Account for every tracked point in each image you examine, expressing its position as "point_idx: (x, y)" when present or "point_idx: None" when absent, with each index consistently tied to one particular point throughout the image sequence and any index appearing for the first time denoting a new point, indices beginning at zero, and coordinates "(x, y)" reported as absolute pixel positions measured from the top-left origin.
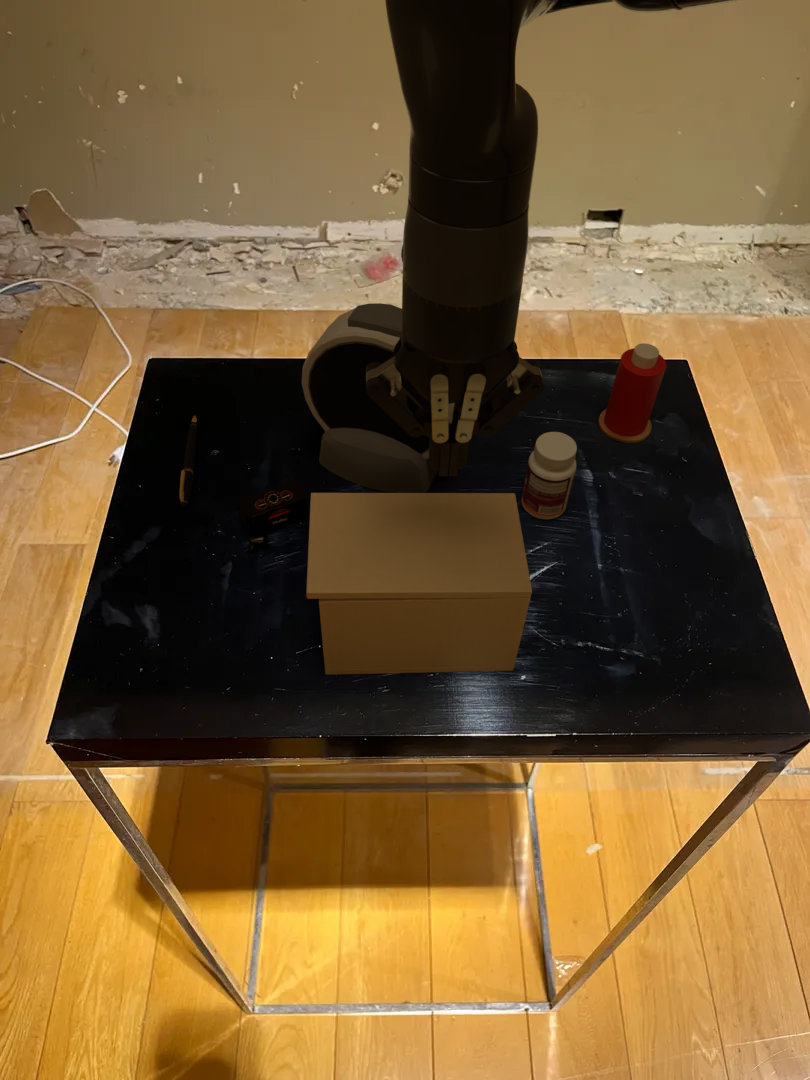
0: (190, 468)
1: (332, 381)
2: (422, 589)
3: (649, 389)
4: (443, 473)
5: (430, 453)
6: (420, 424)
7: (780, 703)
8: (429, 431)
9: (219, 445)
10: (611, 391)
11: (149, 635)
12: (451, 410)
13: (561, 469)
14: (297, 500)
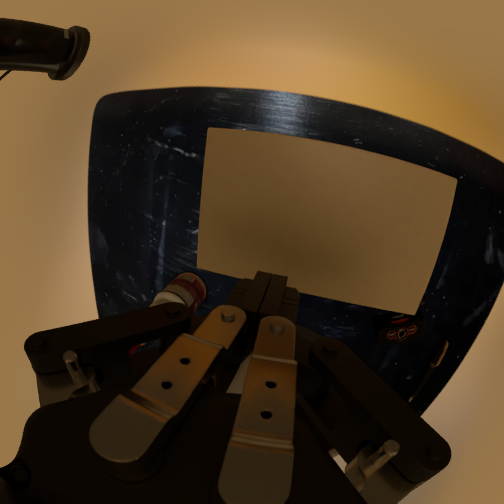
0: (432, 366)
1: None
2: (335, 148)
3: None
4: (280, 277)
5: (297, 310)
6: (320, 360)
7: (100, 109)
8: (297, 344)
9: (404, 381)
10: (131, 353)
11: (492, 237)
12: (239, 377)
13: (162, 299)
14: (385, 329)
